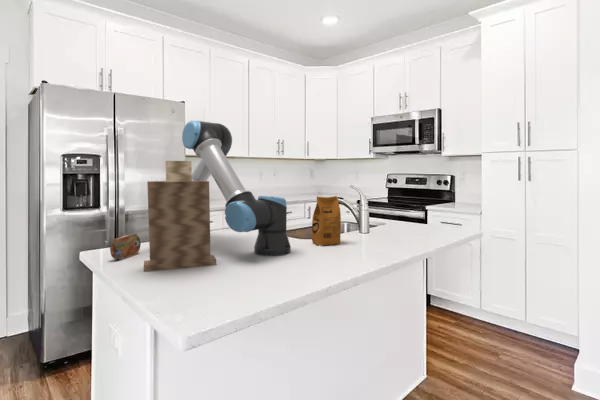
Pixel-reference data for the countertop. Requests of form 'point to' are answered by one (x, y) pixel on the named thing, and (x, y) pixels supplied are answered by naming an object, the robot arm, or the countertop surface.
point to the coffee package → (326, 221)
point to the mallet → (178, 171)
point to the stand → (178, 225)
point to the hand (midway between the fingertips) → (175, 182)
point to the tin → (125, 246)
